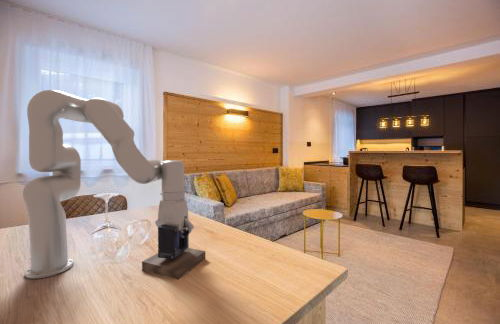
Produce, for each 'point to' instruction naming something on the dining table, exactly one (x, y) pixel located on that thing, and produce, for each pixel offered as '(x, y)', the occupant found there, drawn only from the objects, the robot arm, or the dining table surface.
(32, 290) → the dining table surface
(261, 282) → the dining table surface
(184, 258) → the plinth
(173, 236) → the small box
